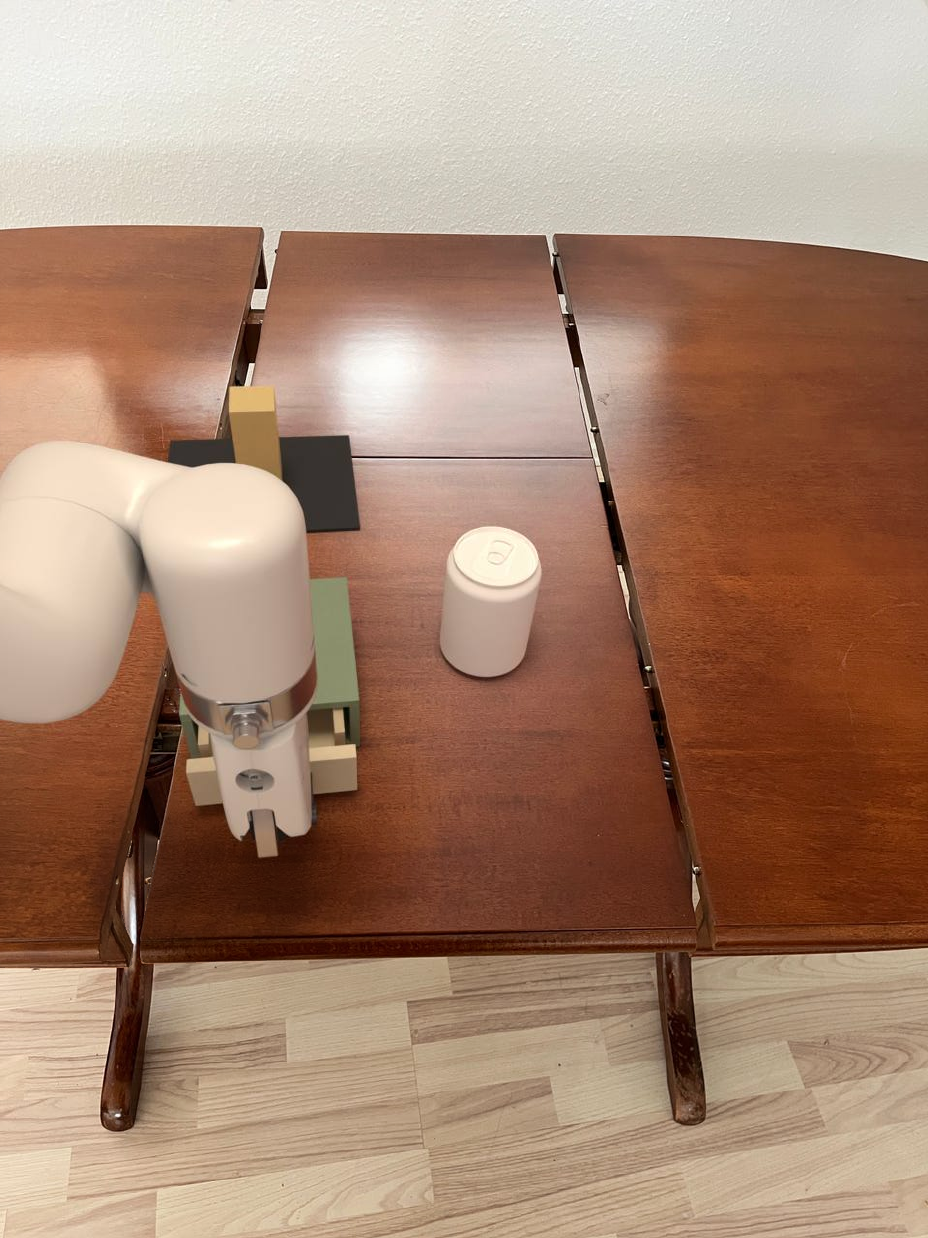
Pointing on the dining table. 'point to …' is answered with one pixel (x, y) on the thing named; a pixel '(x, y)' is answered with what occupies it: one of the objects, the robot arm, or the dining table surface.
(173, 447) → the mat
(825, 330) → the dining table surface
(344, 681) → the cabinet
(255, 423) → the box
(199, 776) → the drawer
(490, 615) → the beverage can
